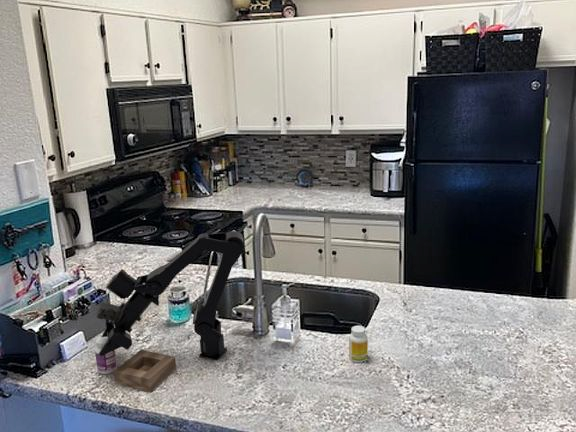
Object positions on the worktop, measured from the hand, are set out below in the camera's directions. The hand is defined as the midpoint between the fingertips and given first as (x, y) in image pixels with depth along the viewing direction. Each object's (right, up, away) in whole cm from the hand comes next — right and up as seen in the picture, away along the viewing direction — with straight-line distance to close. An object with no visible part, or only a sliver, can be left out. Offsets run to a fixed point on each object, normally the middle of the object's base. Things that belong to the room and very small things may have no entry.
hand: (99, 350), depth 150 cm
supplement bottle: (+75, -3, +3) cm, 75 cm away
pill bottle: (+2, -6, +2) cm, 7 cm away
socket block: (+14, -7, -2) cm, 16 cm away
